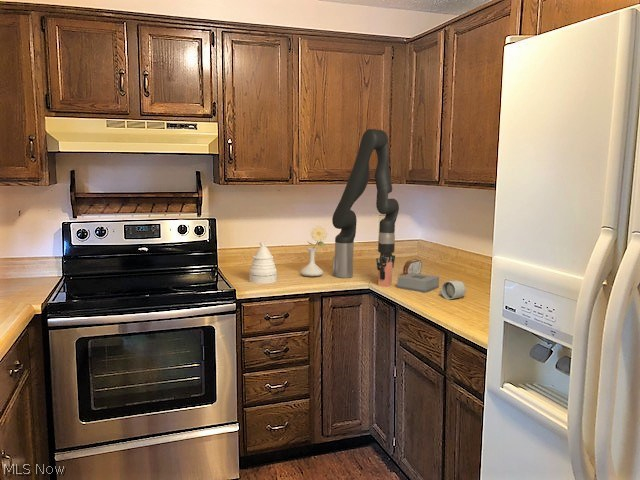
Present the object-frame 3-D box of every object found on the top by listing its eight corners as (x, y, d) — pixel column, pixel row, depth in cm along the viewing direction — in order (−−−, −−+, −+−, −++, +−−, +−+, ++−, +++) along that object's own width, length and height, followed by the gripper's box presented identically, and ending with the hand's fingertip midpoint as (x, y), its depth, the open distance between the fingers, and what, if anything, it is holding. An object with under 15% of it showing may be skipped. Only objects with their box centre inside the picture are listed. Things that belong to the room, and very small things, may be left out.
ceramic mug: (467, 298, 227) (467, 280, 226) (454, 301, 222) (455, 282, 221) (446, 294, 235) (447, 276, 234) (434, 296, 230) (435, 278, 229)
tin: (417, 273, 278) (417, 257, 277) (422, 274, 276) (423, 258, 275) (402, 278, 266) (402, 261, 265) (407, 279, 264) (408, 262, 263)
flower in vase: (297, 277, 263) (298, 226, 260) (303, 272, 274) (304, 224, 271) (323, 278, 260) (324, 227, 257) (328, 274, 271) (329, 225, 268)
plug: (378, 285, 249) (379, 255, 247) (383, 283, 252) (384, 254, 250) (386, 286, 246) (387, 256, 244) (391, 285, 249) (392, 255, 248)
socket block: (397, 287, 244) (397, 277, 243) (411, 282, 255) (411, 272, 254) (425, 292, 236) (426, 281, 235) (438, 287, 247) (439, 276, 246)
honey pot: (246, 278, 258) (246, 241, 255) (272, 277, 262) (272, 240, 260) (253, 284, 246) (253, 245, 243) (280, 282, 250) (280, 244, 248)
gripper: (387, 239, 254) (385, 275, 256) (371, 242, 243) (370, 279, 245) (401, 241, 250) (399, 277, 252) (385, 244, 238) (384, 282, 241)
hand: (385, 278), depth 248 cm, fingers closed on plug, 4 cm apart
